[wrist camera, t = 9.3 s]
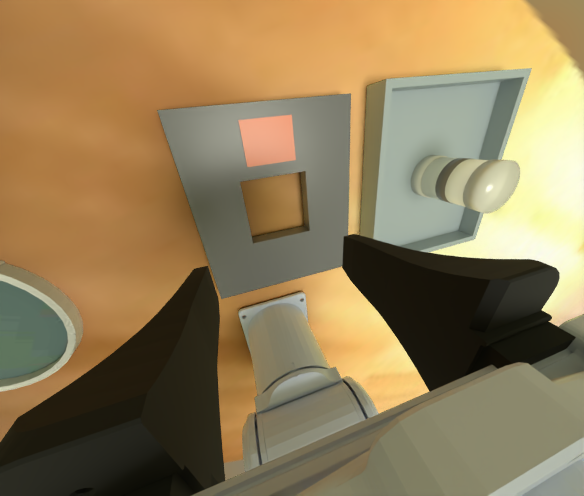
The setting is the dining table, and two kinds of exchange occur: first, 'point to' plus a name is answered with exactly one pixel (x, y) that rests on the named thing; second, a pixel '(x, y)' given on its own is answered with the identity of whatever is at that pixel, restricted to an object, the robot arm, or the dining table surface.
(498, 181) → the fuse
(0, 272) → the magnifying glass
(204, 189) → the fuse holder
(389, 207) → the parts tray
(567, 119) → the dining table surface
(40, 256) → the dining table surface
